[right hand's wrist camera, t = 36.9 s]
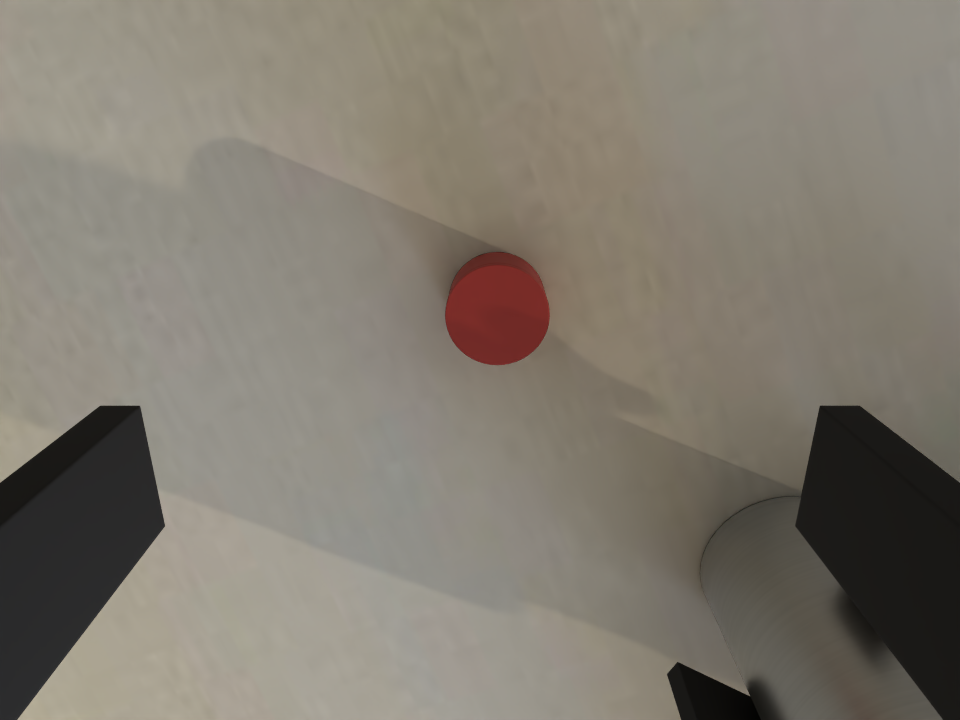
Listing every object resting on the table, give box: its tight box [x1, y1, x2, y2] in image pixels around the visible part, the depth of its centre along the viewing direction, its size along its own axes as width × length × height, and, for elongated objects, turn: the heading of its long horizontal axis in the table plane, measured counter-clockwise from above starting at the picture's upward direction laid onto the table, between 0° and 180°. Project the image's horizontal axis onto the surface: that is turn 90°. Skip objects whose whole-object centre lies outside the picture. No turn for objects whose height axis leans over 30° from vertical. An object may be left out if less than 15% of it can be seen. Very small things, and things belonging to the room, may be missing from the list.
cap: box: [445, 252, 550, 365], centre depth 25 cm, size 4×4×3 cm
